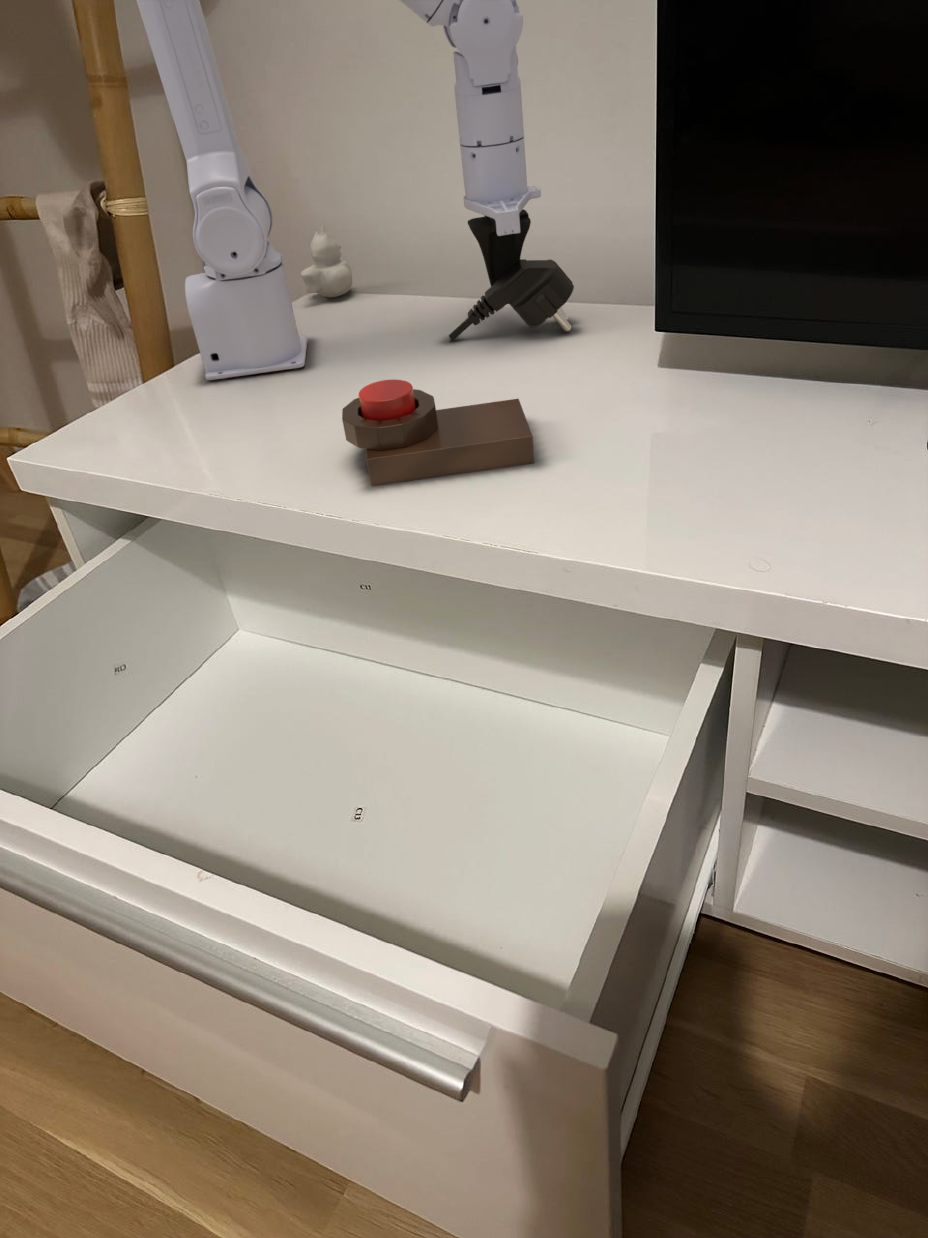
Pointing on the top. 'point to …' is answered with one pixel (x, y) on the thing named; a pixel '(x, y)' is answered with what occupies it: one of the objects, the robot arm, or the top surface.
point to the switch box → (440, 439)
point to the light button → (387, 400)
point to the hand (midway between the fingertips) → (504, 294)
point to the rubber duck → (327, 268)
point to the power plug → (525, 295)
